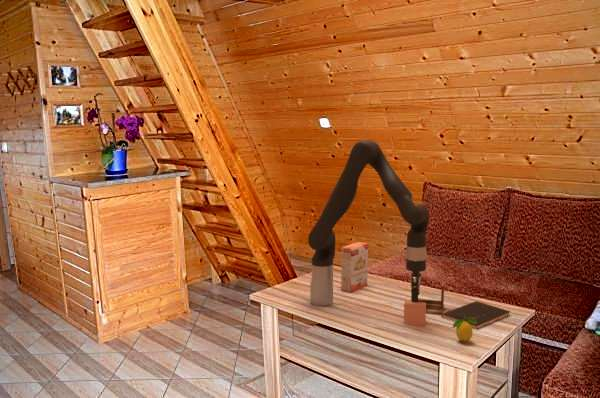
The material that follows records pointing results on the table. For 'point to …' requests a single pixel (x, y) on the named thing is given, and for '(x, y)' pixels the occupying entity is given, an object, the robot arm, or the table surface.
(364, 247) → the cracker box
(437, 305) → the track frame
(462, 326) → the lemon
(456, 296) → the table surface
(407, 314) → the door panel
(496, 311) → the hardcover book
